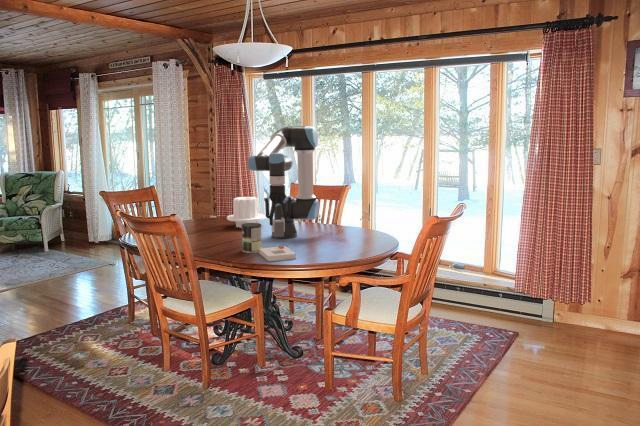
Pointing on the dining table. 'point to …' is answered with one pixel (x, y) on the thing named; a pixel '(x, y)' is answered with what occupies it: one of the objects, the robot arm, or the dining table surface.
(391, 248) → the dining table surface
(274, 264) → the dining table surface
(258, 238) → the coffee can
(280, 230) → the plug
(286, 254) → the socket plate
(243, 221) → the ribbed cylinder on disc
